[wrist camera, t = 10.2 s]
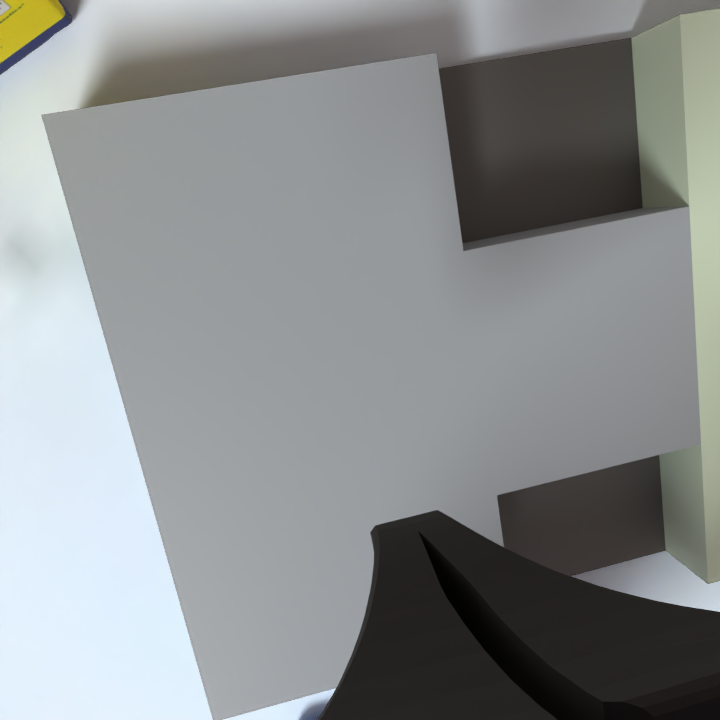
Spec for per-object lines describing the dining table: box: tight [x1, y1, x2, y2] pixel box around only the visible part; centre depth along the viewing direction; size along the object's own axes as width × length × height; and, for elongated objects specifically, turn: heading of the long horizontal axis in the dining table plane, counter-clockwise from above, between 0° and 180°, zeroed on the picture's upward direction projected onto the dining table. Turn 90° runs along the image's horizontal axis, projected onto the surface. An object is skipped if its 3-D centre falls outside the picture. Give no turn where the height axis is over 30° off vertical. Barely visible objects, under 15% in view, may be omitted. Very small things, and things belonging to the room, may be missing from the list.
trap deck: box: [42, 8, 720, 720], centre depth 19 cm, size 18×26×4 cm
